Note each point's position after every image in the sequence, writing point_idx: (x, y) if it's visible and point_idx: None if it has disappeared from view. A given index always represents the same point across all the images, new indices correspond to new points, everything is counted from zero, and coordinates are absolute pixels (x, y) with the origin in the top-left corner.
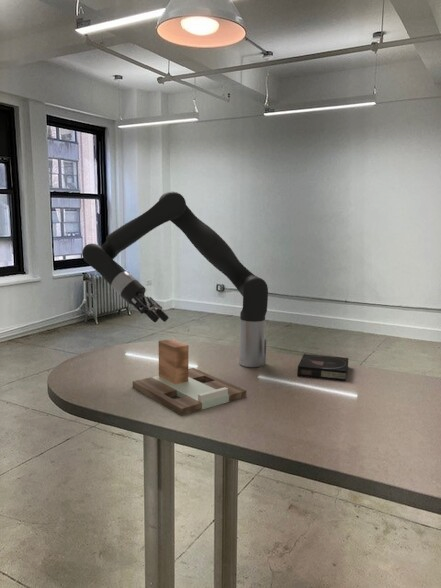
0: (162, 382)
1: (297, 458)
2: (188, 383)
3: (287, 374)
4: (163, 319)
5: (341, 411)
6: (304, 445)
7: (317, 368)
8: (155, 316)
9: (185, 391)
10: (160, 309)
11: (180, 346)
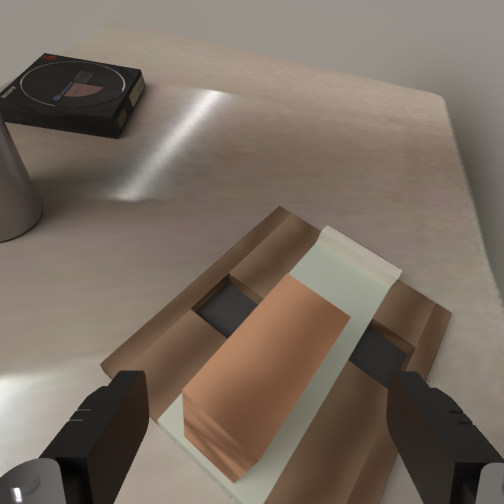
0: (301, 434)
1: (456, 163)
2: None
3: (105, 151)
4: (141, 429)
5: (287, 113)
6: (419, 155)
7: (124, 96)
8: (440, 398)
9: (346, 331)
10: (60, 472)
11: (322, 300)
